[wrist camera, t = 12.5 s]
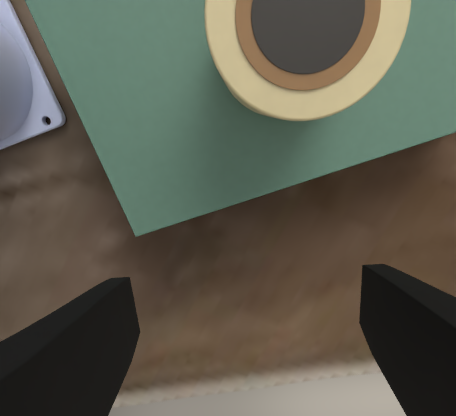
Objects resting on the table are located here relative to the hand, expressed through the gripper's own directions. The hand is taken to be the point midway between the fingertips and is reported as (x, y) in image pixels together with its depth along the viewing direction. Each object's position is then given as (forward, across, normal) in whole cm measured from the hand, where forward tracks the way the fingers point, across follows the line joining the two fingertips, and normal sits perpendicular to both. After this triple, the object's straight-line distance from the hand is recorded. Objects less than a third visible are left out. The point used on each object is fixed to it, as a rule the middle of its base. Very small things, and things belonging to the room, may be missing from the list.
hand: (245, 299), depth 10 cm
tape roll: (+5, -2, -8) cm, 10 cm away
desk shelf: (+10, -2, -8) cm, 13 cm away
